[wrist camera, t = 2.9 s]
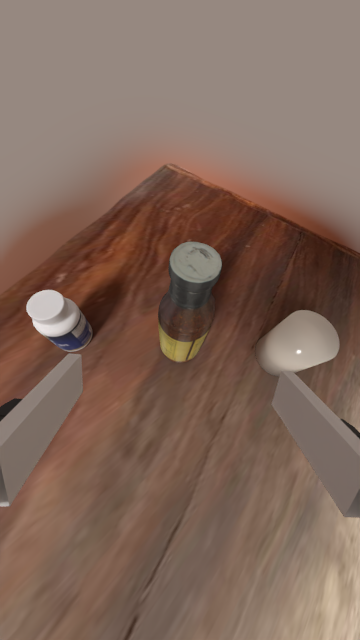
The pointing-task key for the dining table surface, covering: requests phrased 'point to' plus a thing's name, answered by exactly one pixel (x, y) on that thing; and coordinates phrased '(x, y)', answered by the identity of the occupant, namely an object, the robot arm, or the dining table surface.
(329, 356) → the white rounded cylinder
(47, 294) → the pill bottle
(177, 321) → the sauce bottle
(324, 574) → the dining table surface
